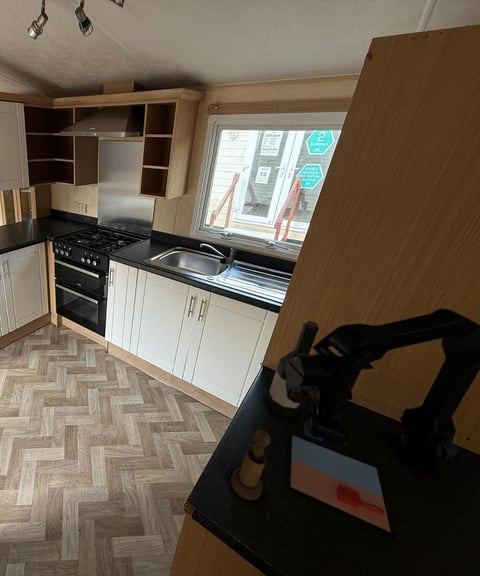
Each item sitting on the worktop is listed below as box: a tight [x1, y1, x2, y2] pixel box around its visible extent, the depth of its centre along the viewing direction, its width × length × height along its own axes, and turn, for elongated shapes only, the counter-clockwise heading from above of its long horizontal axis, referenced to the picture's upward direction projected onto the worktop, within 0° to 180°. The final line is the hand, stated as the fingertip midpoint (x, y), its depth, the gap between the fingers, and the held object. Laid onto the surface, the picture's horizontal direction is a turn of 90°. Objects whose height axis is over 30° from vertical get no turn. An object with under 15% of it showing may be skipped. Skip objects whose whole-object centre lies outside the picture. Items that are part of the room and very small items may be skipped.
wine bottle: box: [265, 320, 320, 418], centre depth 87 cm, size 8×8×30 cm
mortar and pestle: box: [230, 429, 272, 501], centre depth 69 cm, size 7×6×18 cm
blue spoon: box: [303, 420, 348, 446], centre depth 72 cm, size 8×3×2 cm, turn 60°
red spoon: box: [337, 484, 385, 515], centre depth 68 cm, size 8×3×2 cm, turn 59°
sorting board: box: [290, 435, 392, 533], centre depth 74 cm, size 18×16×1 cm
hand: (314, 431), depth 74 cm, fingers closed on blue spoon, 3 cm apart
